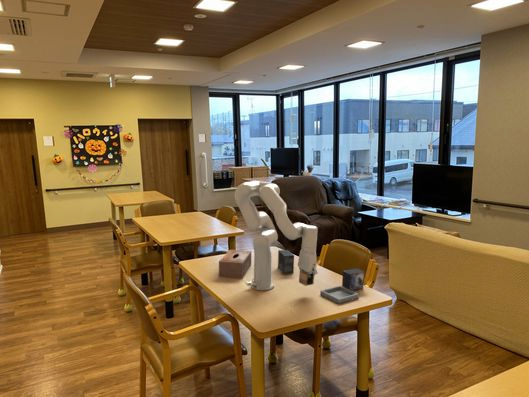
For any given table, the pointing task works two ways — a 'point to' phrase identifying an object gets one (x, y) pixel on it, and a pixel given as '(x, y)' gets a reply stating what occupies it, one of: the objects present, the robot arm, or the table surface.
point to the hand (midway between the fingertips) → (306, 281)
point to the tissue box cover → (235, 264)
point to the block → (304, 278)
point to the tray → (339, 294)
